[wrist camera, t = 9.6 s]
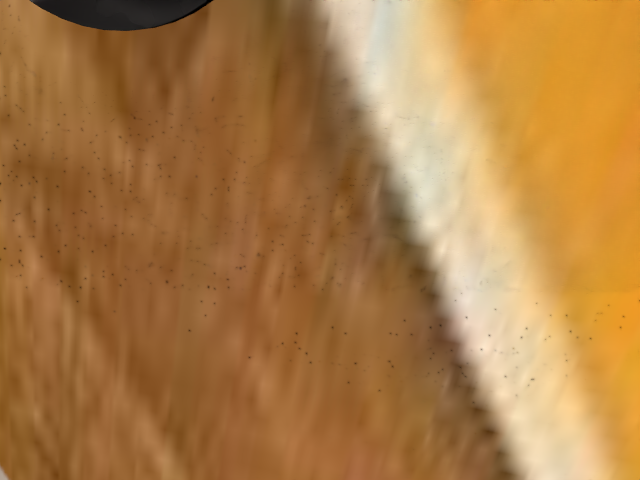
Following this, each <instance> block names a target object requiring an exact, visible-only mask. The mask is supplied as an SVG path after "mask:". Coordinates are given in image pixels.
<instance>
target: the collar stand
mask: <svg viewBox="0 0 640 480" xmlns="http://www.w3.org/2000/svg"><path fill="white" fill-rule="evenodd" d="M30 1H31V2H33V3H34V4H36V5H37V6H39V7H40V8H42V9H44V10H46V11H48V12H50V13H52V14H54V15H56V16H58V17H60V18H62V19H65V20H67V21H70V22H73V23H76V24H79V25H82V26H86V27H91V28H97V29H102V30H117V31H130V30H140V29H148V28H156V27H159V26H163V25H166V24H170V23H173V22H176V21H178V20H180V19H183V18H185V17H187V16H189V15H191V14H193V13H195V12H197V11H198V10H200V9H201V8H203V7H204V6H206V5H207V4H209V3H210V2H212V1H213V0H30Z"/></svg>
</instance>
